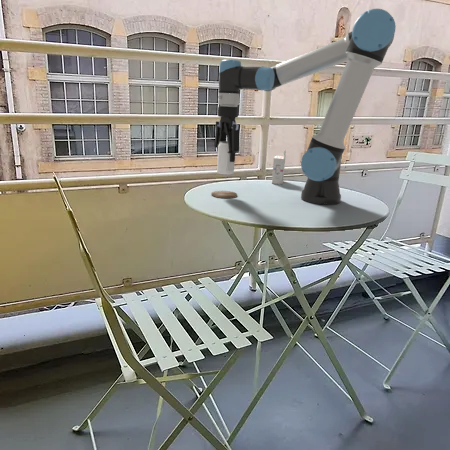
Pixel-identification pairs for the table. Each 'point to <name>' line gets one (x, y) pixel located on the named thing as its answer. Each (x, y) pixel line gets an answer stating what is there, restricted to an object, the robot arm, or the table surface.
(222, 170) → the can
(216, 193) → the coaster
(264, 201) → the table surface
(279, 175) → the ink cartridge box
